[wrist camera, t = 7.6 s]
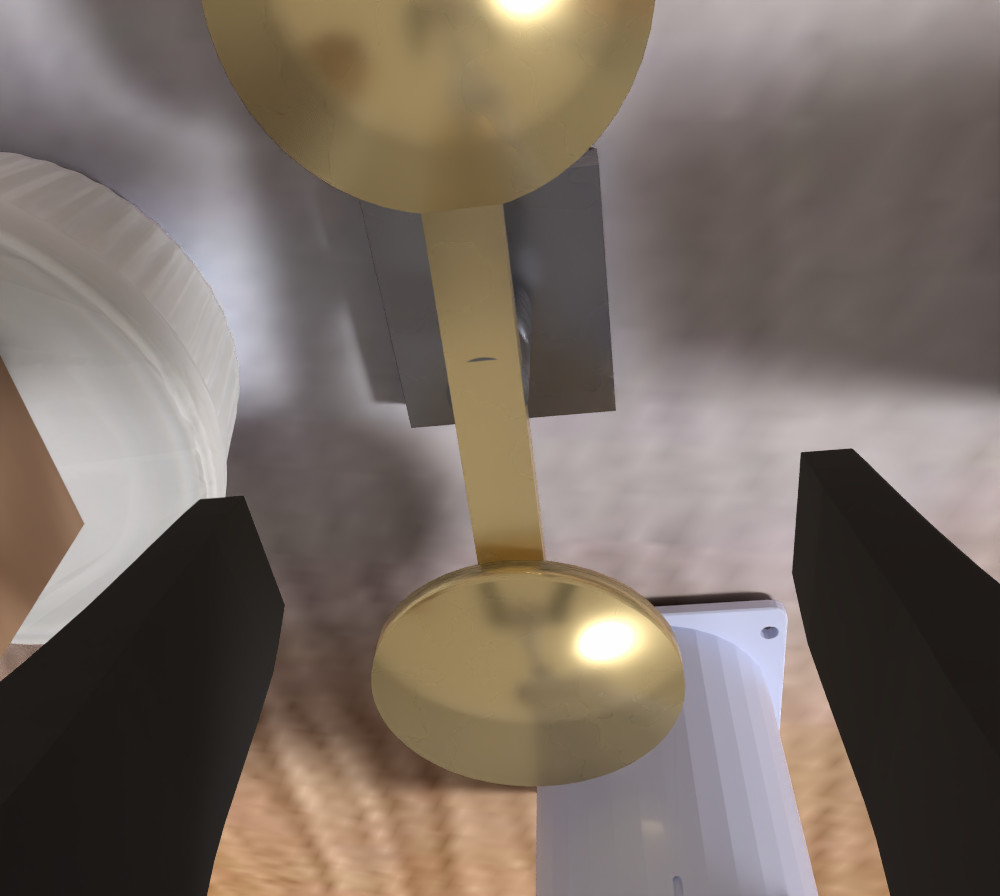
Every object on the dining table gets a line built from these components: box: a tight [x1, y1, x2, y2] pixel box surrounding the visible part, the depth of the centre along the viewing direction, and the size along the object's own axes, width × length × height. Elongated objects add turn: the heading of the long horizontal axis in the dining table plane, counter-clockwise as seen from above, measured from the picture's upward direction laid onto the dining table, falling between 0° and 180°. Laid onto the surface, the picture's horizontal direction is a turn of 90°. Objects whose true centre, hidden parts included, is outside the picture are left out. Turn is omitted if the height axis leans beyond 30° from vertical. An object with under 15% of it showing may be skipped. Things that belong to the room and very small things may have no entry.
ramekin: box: [0, 152, 240, 645], centre depth 21 cm, size 11×11×5 cm
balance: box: [201, 0, 685, 786], centre depth 19 cm, size 21×7×6 cm, turn 7°
